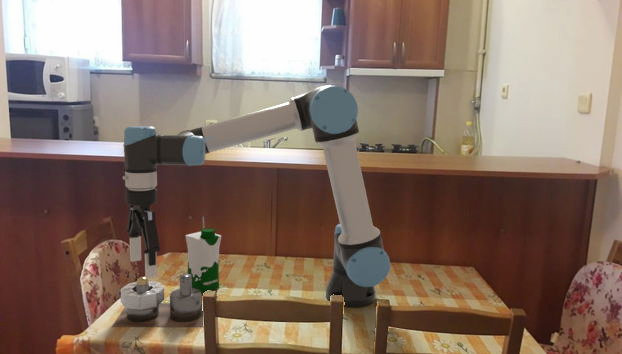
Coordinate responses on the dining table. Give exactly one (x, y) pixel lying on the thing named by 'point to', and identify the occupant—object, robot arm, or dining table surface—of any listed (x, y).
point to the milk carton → (204, 259)
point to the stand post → (185, 301)
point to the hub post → (142, 314)
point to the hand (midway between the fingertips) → (143, 268)
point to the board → (157, 319)
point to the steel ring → (142, 296)
